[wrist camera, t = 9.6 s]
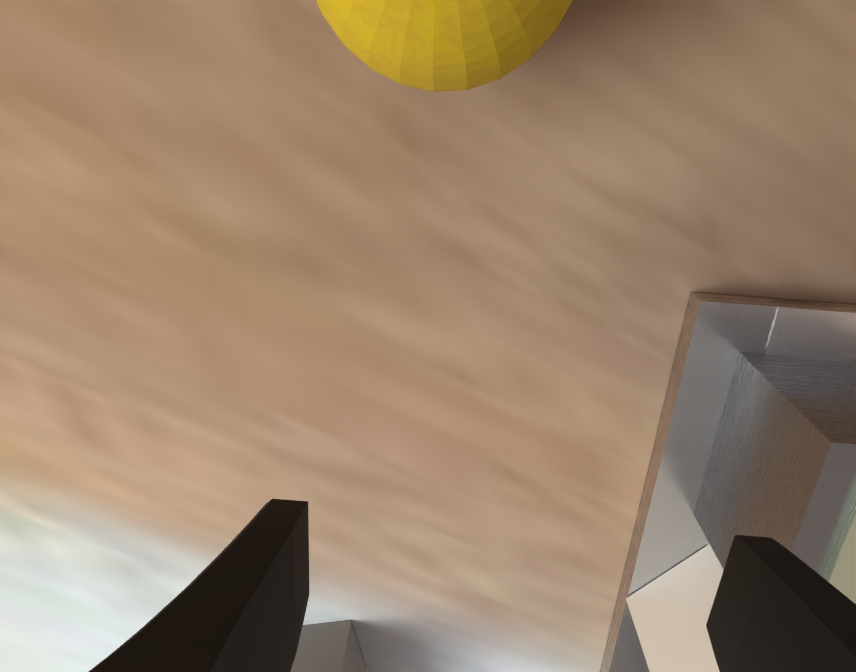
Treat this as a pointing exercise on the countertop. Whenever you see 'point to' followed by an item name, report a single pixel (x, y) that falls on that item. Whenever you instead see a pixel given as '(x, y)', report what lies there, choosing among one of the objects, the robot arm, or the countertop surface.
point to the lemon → (443, 37)
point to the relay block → (328, 649)
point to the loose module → (678, 615)
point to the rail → (681, 454)
